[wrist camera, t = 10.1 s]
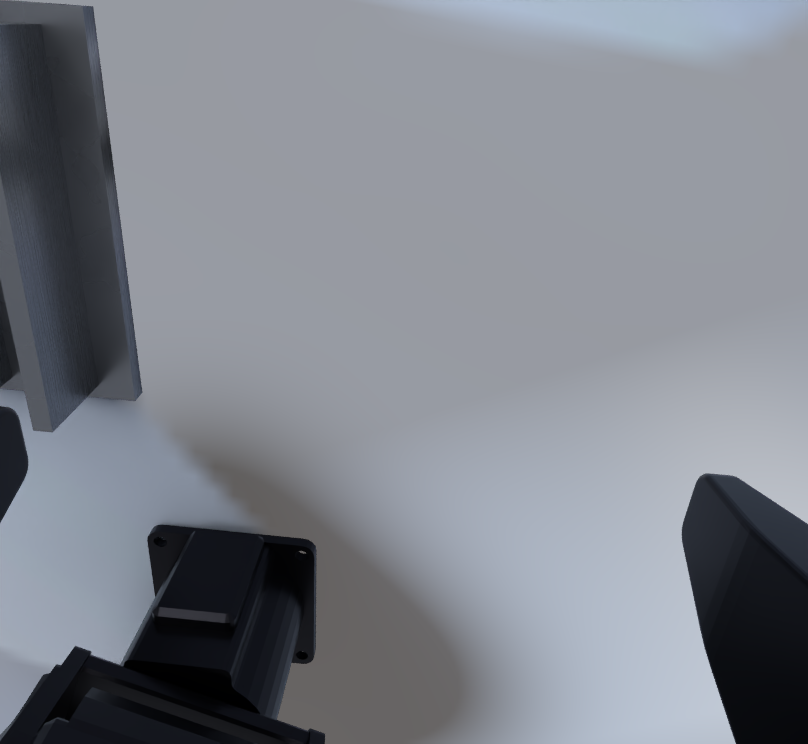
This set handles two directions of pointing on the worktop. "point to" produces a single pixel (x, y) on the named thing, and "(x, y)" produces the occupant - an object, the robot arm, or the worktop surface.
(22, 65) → the offcut rack
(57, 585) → the worktop surface
